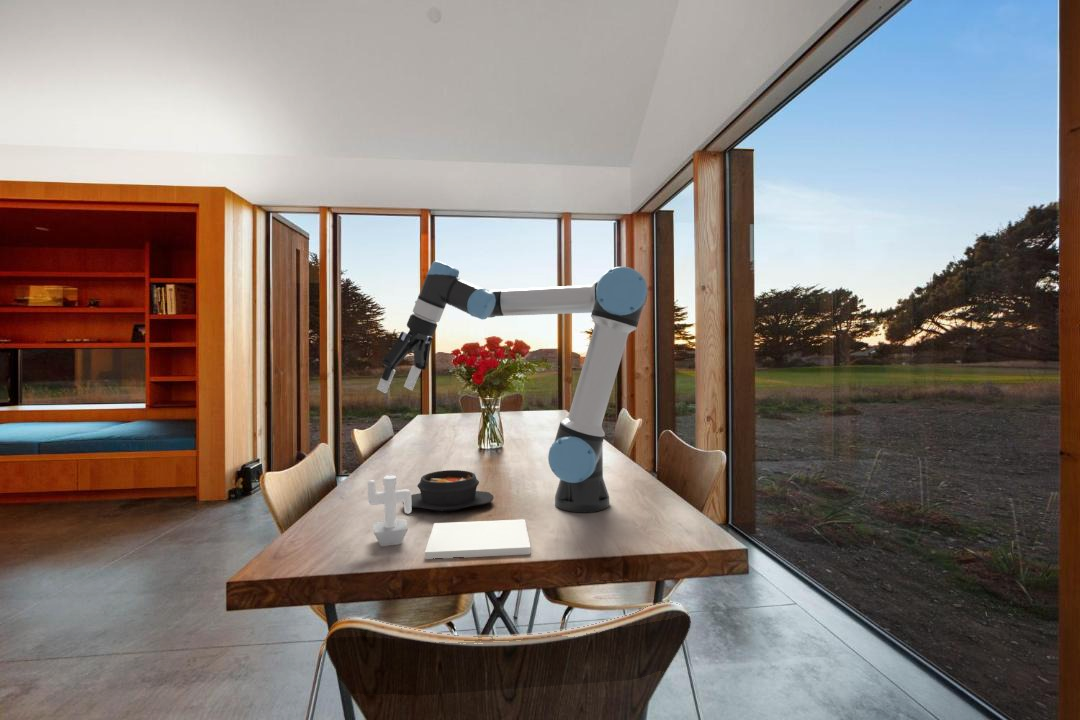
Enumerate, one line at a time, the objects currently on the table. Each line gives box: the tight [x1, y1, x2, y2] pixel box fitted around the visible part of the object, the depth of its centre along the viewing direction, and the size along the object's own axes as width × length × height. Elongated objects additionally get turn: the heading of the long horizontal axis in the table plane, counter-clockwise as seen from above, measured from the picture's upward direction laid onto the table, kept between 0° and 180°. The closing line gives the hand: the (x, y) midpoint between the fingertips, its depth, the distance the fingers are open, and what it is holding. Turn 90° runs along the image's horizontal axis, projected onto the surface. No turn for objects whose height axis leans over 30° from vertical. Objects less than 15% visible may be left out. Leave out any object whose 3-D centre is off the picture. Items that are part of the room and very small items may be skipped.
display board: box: [424, 519, 532, 560], centre depth 117 cm, size 22×18×2 cm
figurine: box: [367, 474, 413, 547], centre depth 117 cm, size 7×9×15 cm
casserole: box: [402, 469, 495, 512], centre depth 144 cm, size 25×19×8 cm
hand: (395, 389), depth 140 cm, fingers open, 13 cm apart
